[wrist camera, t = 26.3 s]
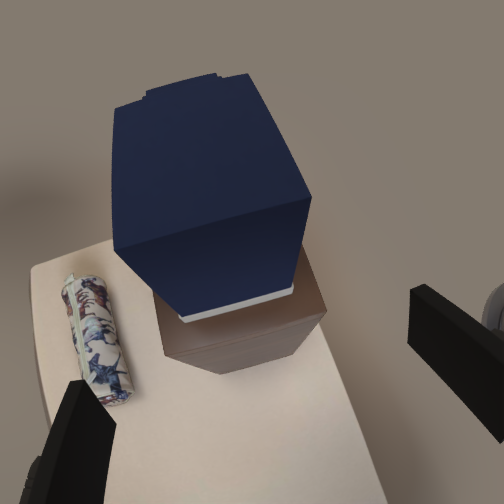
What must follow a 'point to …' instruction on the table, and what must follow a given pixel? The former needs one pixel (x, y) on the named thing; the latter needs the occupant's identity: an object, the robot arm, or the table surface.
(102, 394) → the pencil case
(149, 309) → the table surface
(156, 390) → the table surface
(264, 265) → the blue blocks on base
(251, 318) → the brown box
